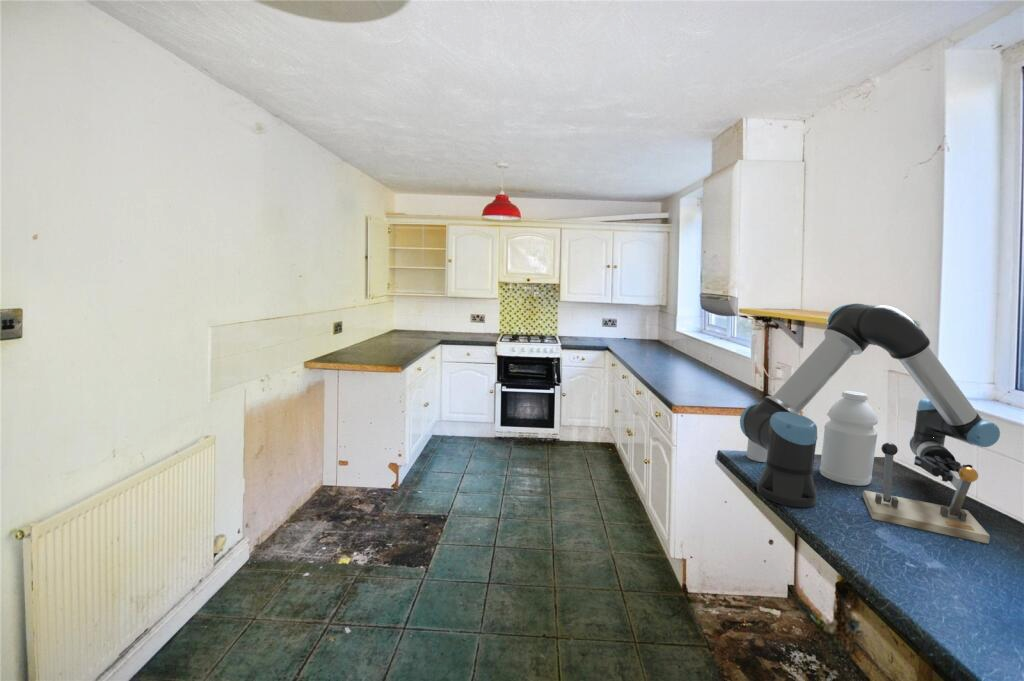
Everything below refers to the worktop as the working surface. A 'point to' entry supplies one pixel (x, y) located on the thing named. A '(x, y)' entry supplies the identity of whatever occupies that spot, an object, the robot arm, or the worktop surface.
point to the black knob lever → (888, 469)
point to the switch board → (925, 516)
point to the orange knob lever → (962, 489)
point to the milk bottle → (756, 451)
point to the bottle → (849, 440)
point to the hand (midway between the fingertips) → (960, 484)
